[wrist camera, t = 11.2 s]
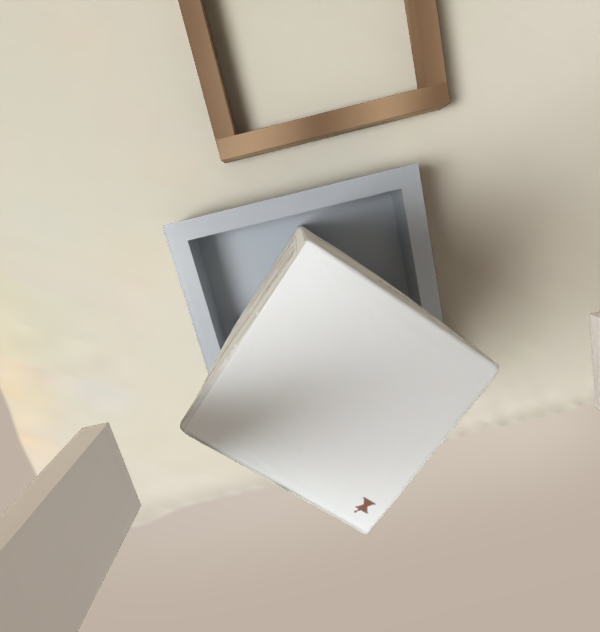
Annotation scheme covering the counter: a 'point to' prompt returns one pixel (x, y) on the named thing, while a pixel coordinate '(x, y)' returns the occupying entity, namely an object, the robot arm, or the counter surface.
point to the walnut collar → (326, 124)
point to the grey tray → (277, 228)
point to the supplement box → (335, 384)
